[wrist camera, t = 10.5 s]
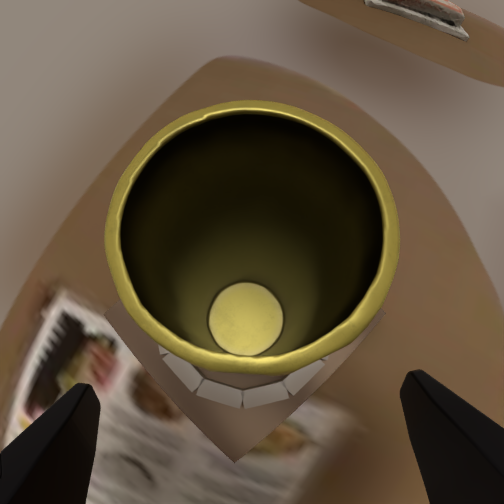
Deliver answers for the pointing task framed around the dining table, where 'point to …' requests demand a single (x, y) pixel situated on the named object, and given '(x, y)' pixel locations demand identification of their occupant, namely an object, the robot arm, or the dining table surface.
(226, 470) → the dining table surface
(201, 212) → the vase
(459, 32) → the packaged product
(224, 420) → the socket board
